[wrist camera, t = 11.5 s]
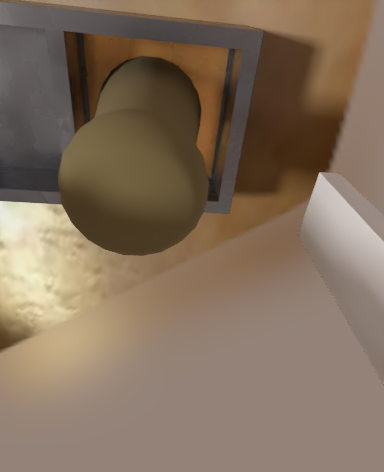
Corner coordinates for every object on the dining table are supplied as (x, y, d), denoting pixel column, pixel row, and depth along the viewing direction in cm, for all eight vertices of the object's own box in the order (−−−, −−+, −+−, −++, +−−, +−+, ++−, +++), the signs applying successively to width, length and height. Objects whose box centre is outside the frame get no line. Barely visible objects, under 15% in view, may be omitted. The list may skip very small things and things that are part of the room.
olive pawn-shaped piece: (215, 140, 20) (249, 249, 11) (129, 175, 21) (98, 300, 13) (177, 35, 17) (182, 73, 8) (76, 83, 18) (-17, 163, 9)
